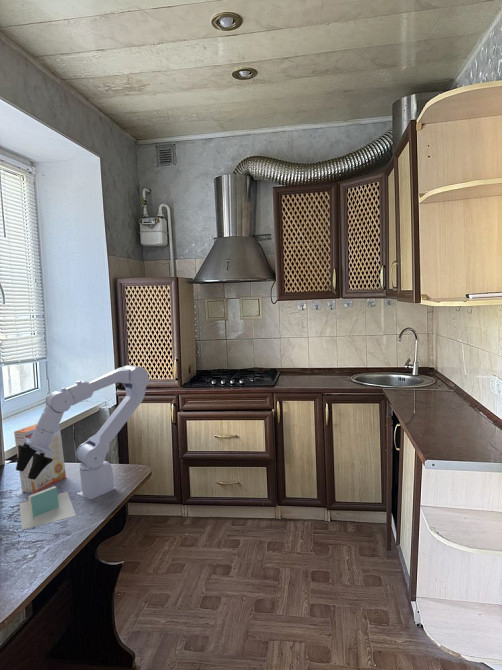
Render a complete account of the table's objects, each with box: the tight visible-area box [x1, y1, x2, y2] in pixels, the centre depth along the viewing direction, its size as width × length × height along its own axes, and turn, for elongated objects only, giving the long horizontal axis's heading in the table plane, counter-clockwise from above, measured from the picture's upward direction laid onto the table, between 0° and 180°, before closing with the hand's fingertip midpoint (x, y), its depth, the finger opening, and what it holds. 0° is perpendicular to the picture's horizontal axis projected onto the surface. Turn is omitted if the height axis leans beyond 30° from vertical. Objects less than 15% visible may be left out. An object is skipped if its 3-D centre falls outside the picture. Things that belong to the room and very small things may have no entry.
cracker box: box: [13, 423, 67, 494], centre depth 162 cm, size 14×6×21 cm, turn 154°
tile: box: [27, 485, 59, 517], centre depth 141 cm, size 8×2×6 cm, turn 141°
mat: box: [19, 491, 77, 530], centre depth 143 cm, size 20×14×1 cm
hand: (25, 474), depth 140 cm, fingers open, 7 cm apart
